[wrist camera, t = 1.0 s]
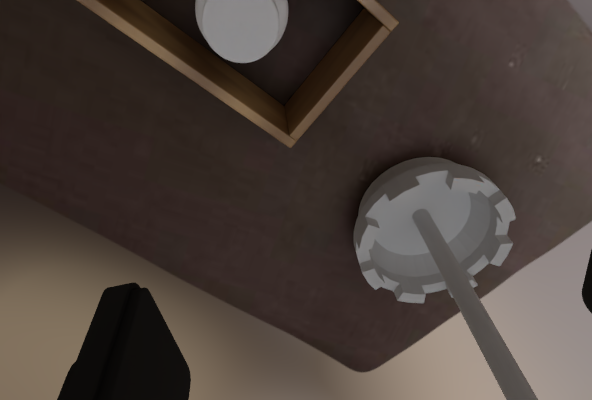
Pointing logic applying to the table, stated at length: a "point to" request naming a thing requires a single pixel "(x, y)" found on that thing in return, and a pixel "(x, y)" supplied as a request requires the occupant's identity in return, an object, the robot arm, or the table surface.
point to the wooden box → (239, 90)
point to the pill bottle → (242, 26)
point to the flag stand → (440, 245)
